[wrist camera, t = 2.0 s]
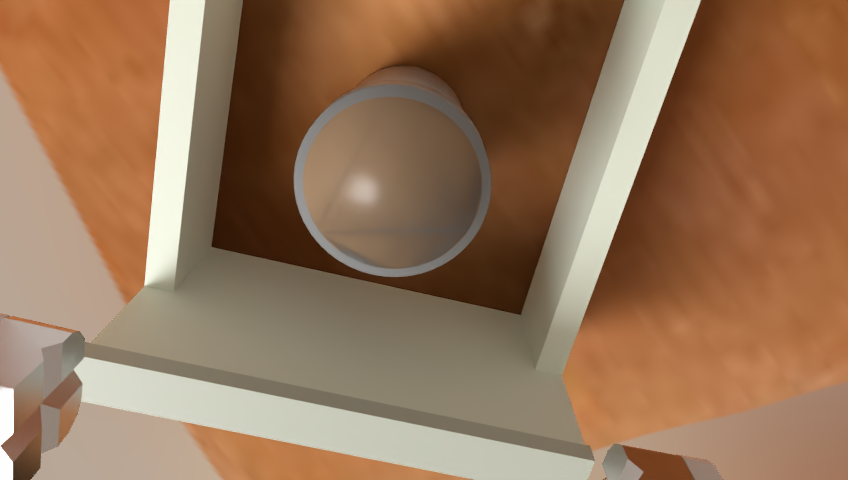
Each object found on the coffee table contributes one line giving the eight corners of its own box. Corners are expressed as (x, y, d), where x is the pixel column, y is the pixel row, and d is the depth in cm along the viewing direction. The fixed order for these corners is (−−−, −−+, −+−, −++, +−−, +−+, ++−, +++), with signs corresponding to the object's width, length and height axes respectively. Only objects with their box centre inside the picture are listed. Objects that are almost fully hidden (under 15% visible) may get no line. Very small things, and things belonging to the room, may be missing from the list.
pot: (347, 40, 28) (311, 64, 20) (491, 75, 29) (515, 114, 20) (321, 179, 30) (279, 253, 22) (454, 209, 31) (463, 294, 23)
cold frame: (230, -146, 26) (100, -229, 16) (664, -31, 27) (803, -39, 17) (183, 269, 32) (70, 399, 22) (534, 345, 34) (578, 500, 23)
